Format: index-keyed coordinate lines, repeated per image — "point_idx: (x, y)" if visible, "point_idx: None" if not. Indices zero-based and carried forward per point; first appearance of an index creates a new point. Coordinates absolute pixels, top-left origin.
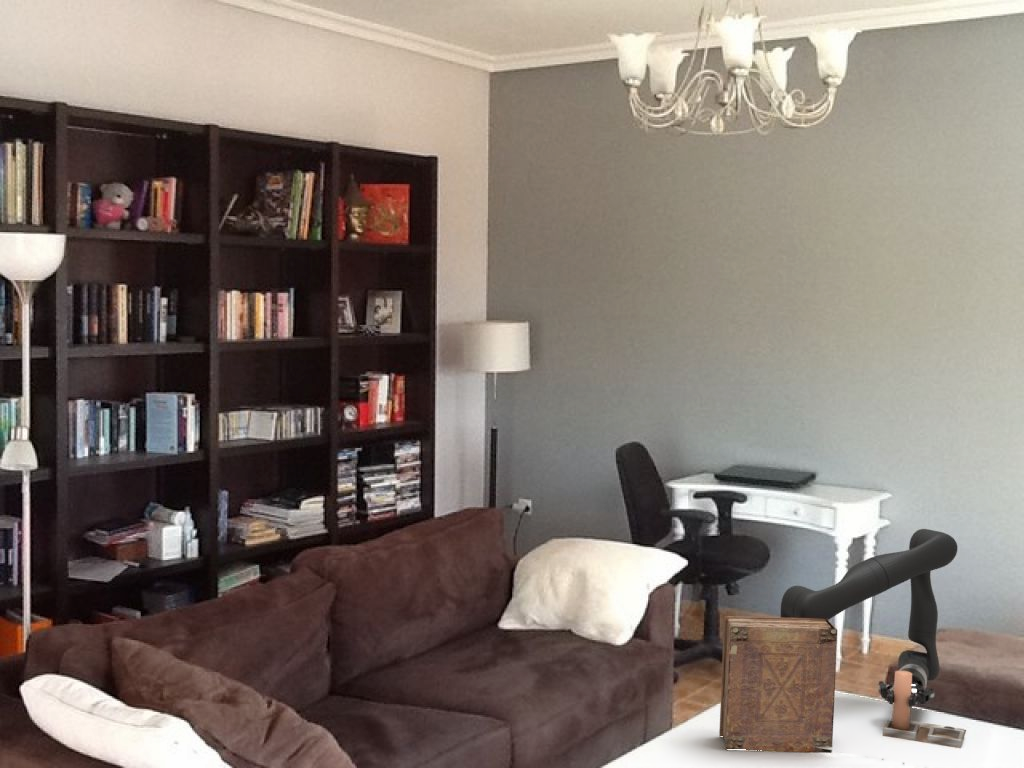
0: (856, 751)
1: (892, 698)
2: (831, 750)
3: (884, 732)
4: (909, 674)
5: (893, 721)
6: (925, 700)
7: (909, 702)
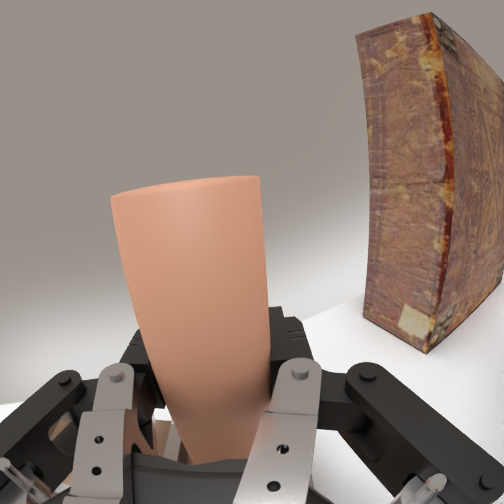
0: (328, 344)
1: None
2: (363, 311)
3: None
4: (140, 188)
5: None
6: (65, 442)
7: None
